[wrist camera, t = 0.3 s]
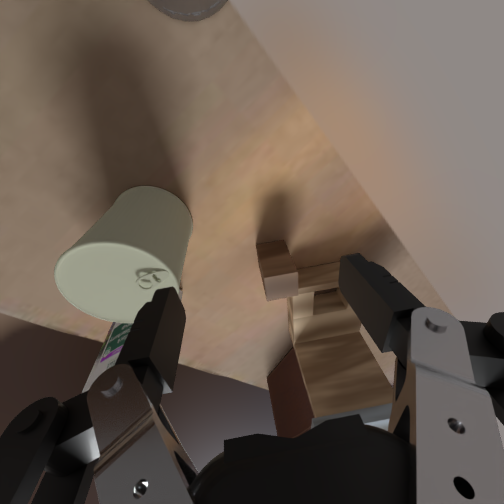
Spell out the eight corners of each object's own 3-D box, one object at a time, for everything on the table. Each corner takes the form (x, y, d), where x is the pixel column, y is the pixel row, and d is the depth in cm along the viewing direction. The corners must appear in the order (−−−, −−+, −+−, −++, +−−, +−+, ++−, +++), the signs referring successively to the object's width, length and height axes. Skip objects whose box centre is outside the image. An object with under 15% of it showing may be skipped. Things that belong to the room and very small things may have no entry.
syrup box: (154, 269, 31) (115, 373, 20) (184, 291, 34) (166, 392, 23) (127, 288, 33) (76, 396, 21) (158, 308, 36) (129, 411, 24)
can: (205, 239, 29) (197, 310, 20) (143, 261, 30) (107, 339, 21) (168, 173, 24) (134, 226, 14) (94, 202, 25) (14, 270, 15)
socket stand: (279, 272, 34) (320, 396, 20) (366, 256, 35) (466, 368, 21) (284, 336, 45) (314, 447, 31) (351, 323, 45) (411, 428, 31)
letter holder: (266, 377, 55) (278, 451, 43) (305, 329, 45) (335, 409, 33) (300, 379, 58) (319, 450, 46) (344, 335, 48) (383, 411, 36)
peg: (255, 244, 31) (263, 278, 25) (283, 239, 31) (298, 271, 25) (259, 266, 33) (267, 301, 28) (284, 261, 33) (298, 295, 28)
